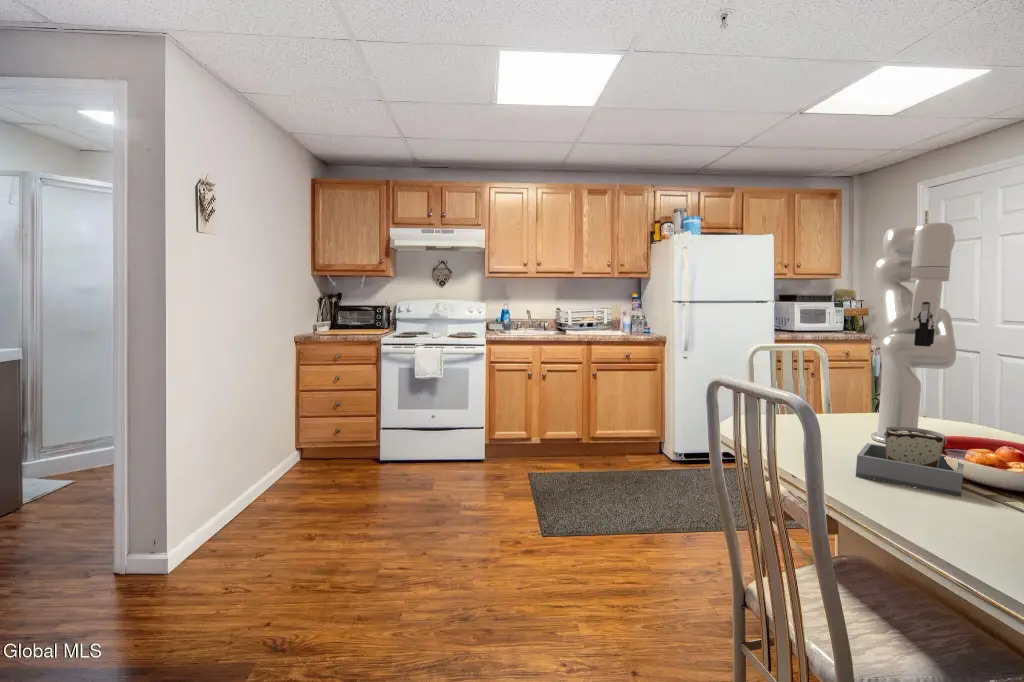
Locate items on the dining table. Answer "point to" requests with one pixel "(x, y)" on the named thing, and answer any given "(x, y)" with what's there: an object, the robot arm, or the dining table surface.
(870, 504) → the dining table surface
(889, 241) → the robot arm
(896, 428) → the food container
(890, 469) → the bin
